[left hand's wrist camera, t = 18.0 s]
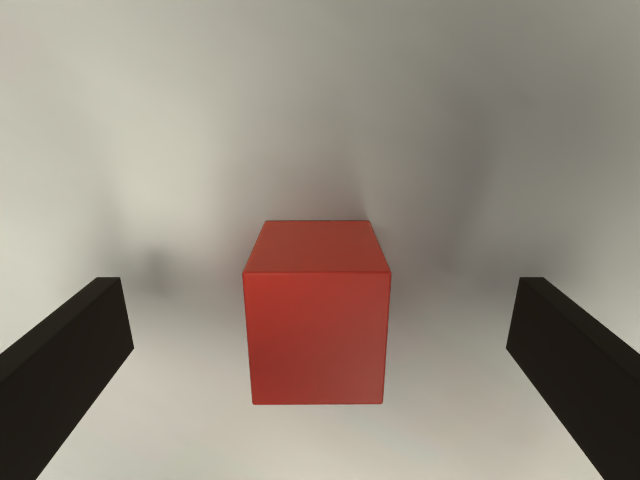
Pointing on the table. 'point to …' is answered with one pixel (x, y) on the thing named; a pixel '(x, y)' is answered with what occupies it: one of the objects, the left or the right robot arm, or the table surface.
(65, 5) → the table surface
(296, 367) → the brick
